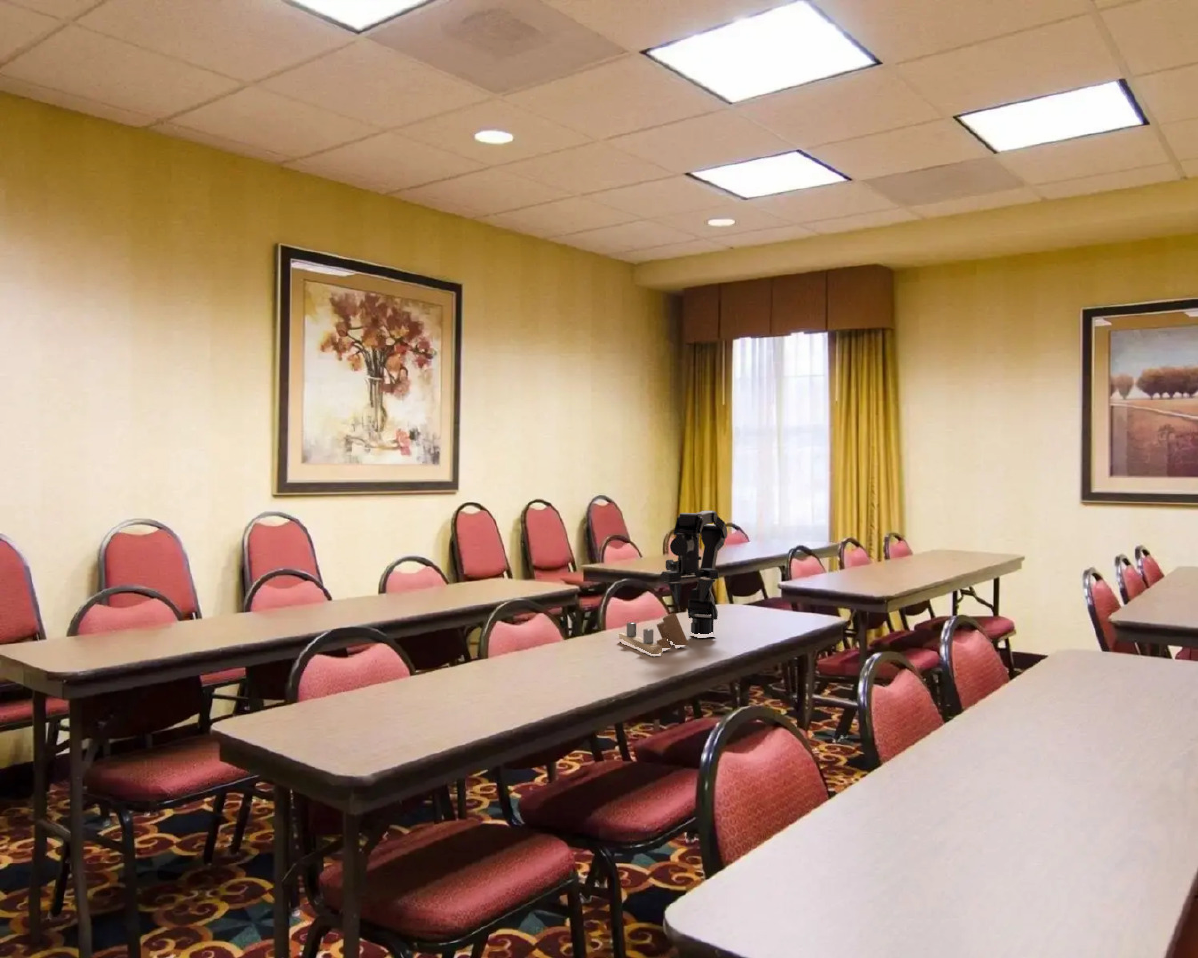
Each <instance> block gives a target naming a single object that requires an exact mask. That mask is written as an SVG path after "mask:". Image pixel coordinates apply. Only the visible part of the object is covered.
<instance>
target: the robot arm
mask: <svg viewBox="0 0 1198 958" xmlns="http://www.w3.org/2000/svg"><path fill="white" fill-rule="evenodd" d="M673 535H674V536H675V538H673V539H672V540H671V542H670V545H669V547H670V551H671V553H672V554H673V555H675V556H677V560H676V561H675V560H674V559H666V560H665V569H666V570H665V571H664V570H663V571H661V573H660V575H659V576H660V581H662V582H663V583H664V584H667V585H668V586H669V588H670V590H671V592H672V596H673V598H674V601H675V604H677V605H679V604H680V601H681V591H682V585H683V584H682V582H680V581H681V580H682V579H683V580H684V579H695V578H697V586H696V588H692V589H690V593H689V599H688V600H687V603H686V604H687V605H686V607H687V616H688V617H687V618H688V619H692V620H691V621H692V622H691V623H690V633H691V632H692V633H694V634H698V633H700V634H709V633H711V632H713V633H714V621H715V620H718V617H719V616H718V615H719V614H718V613H719V611H718V608H717V606H716V603H715V597H714V595H713V592H712V589H713V587H712V586H713V583H715V582H716V580H718V579H719V577H720V575H719V571H718V569H716V564H717V558H718V553H719V552H720V550H721V548H723V547H724V545H725V541H726V539H727V538H728V528H727V524H726V522H725V521H724V520H723V519H721V518H720V517H719V516H718V512H717V511H715V510H702V511H701V510H700V512H680V513H679V515H678V516H677V518H676V521H675V526H674V530H673ZM700 537H701V538H700ZM700 540H701V542H702V543H703V544H702V545H703V547H704V548H703V553H702V556H700ZM700 561H701V564H700Z"/></svg>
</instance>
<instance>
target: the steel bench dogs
mask: <svg viewBox="0 0 1198 958" xmlns="http://www.w3.org/2000/svg"><path fill="white" fill-rule="evenodd" d="M642 631H643V636H642V637H643V638H642V639H643V643H644V644H653V643H654V629H652V628H644V629H643V630H642ZM626 633H627V637H636V636H637V622H627V623H626Z"/></svg>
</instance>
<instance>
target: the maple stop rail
mask: <svg viewBox="0 0 1198 958" xmlns="http://www.w3.org/2000/svg"><path fill="white" fill-rule="evenodd" d="M618 635H619V636H618V640H619V639H623V640H624V641H626V642H628V643H630V644H632V645H634V646H635V647H639V648H641V649H643V650H645V651H647V652H649V653H651V654H659V653H662V646H660V645H658V643H654V642H653V644H644V643H643V638H642V637H640V636H637V635H636V637H627V632H619V633H618ZM662 654H663V653H662Z"/></svg>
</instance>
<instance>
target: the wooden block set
mask: <svg viewBox="0 0 1198 958" xmlns="http://www.w3.org/2000/svg"><path fill="white" fill-rule="evenodd" d="M662 620H663V621H660V622H659V623H657V624H656V627H657V630H658V632H659V635H660V637H661V639H659V640H656V644H657V645H660V646H662V648H671V645H670V643H669V642H668V641H672V642H673V644H675V645H686V646H687V645H689V642H688V640H687V636H686V635H685V632H684V630H683V627H682V625H681V622H680V620H679V618H678V616H677V614H676V612H673V613H670V614H667V615H665V616H664V617H663V618H662ZM667 639H668V641H667Z"/></svg>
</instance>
